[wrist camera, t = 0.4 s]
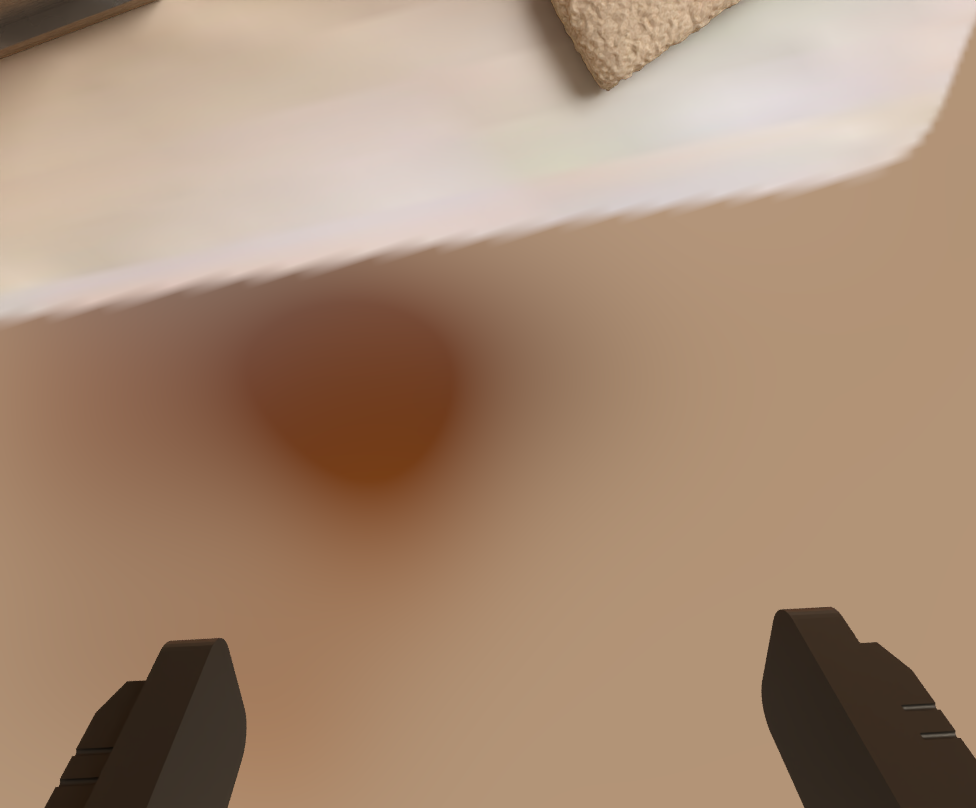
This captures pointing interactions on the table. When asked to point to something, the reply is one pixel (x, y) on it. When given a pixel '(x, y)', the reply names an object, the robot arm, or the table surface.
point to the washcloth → (630, 31)
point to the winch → (52, 19)
